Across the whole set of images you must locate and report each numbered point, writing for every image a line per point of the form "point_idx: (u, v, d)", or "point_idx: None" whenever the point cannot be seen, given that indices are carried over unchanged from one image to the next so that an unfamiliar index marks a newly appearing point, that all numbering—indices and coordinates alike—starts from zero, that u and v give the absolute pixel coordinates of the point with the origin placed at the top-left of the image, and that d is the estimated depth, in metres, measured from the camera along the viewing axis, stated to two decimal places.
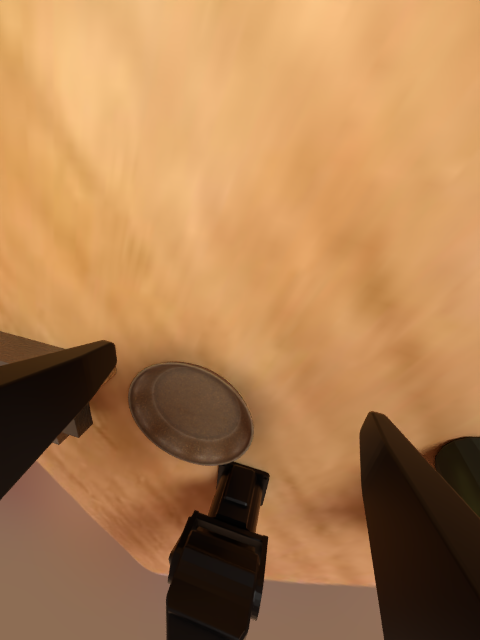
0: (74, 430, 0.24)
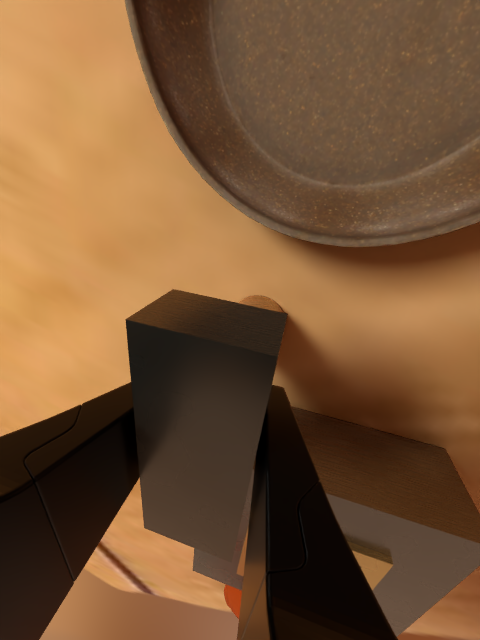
0: (220, 355, 0.04)
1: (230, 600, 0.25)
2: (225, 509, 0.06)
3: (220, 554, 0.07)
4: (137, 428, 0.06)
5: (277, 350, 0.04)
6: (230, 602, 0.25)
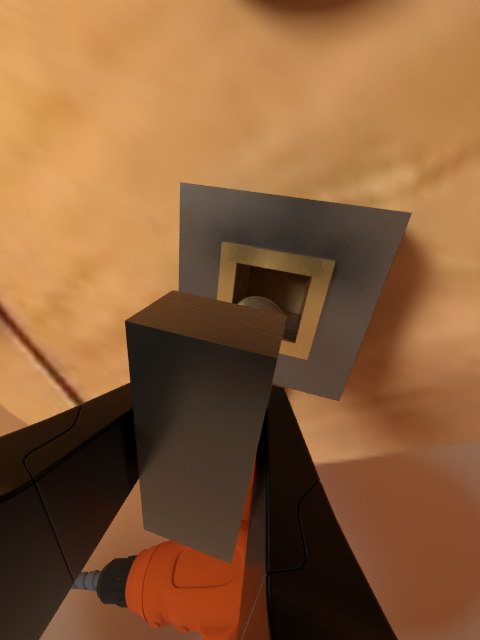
0: (220, 357, 0.04)
1: None
2: (225, 510, 0.06)
3: (220, 556, 0.07)
4: (136, 430, 0.06)
5: (277, 352, 0.04)
6: None
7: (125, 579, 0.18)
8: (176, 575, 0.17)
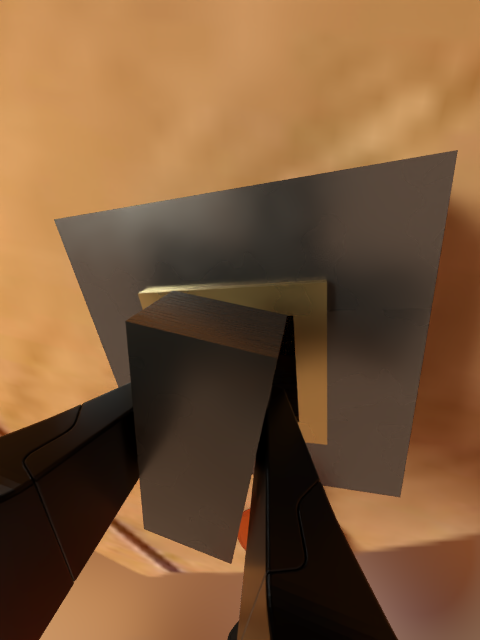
0: (220, 356, 0.04)
1: (243, 539, 0.20)
2: (225, 510, 0.06)
3: (220, 556, 0.07)
4: (137, 430, 0.06)
5: (277, 352, 0.04)
6: (243, 541, 0.20)
7: None
8: None
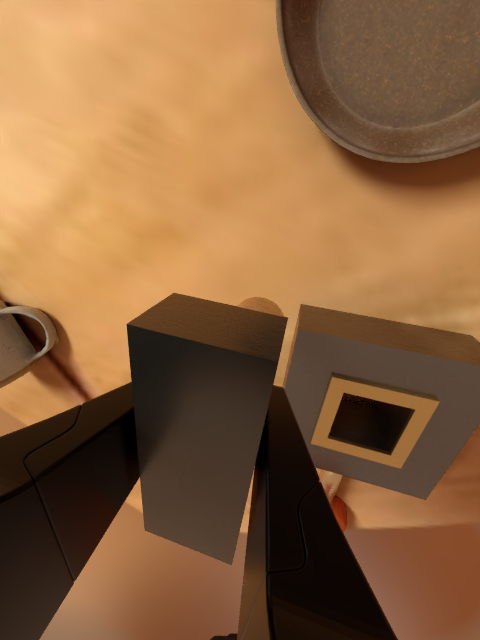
0: (221, 360, 0.04)
1: None
2: (226, 512, 0.06)
3: (220, 557, 0.07)
4: (137, 432, 0.06)
5: (277, 355, 0.04)
6: None
7: None
8: None
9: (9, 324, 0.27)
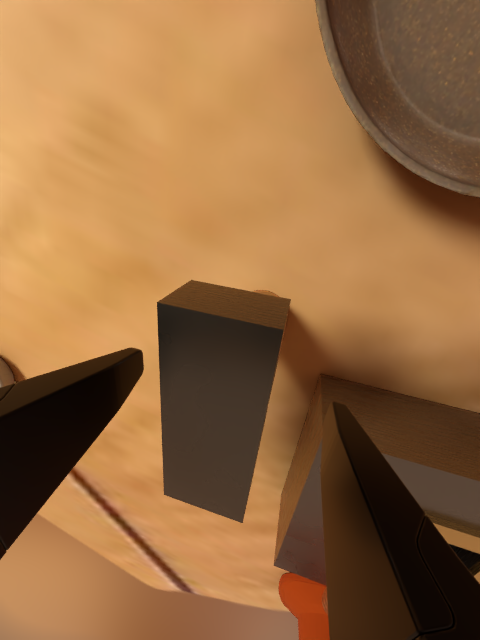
0: (236, 330, 0.05)
1: (287, 598, 0.24)
2: (238, 470, 0.07)
3: (232, 515, 0.08)
4: (162, 399, 0.07)
5: (283, 325, 0.05)
6: (287, 600, 0.24)
7: None
8: None
9: None
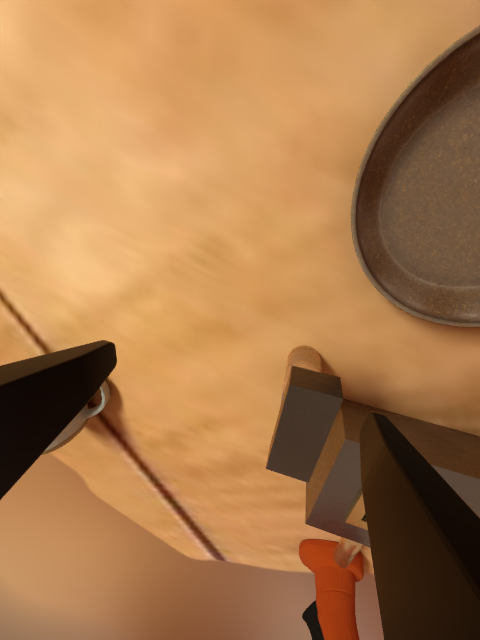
0: (323, 397, 0.14)
1: (306, 557, 0.32)
2: (312, 455, 0.15)
3: (303, 479, 0.16)
4: (279, 422, 0.15)
5: (342, 396, 0.13)
6: (306, 558, 0.32)
7: None
8: None
9: None
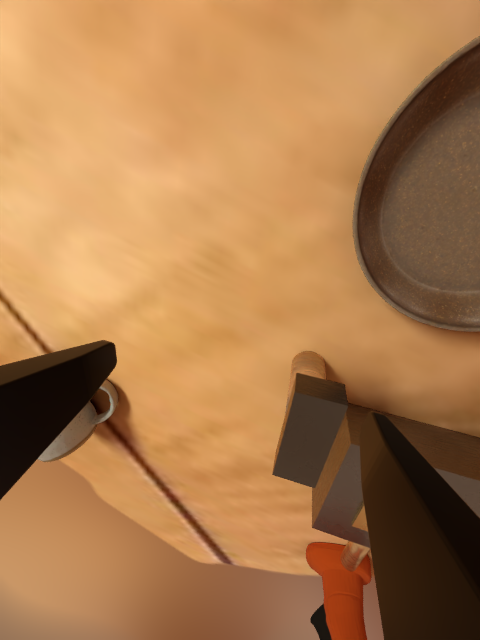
0: (328, 404, 0.14)
1: (313, 560, 0.32)
2: (317, 461, 0.16)
3: (310, 484, 0.17)
4: (285, 428, 0.15)
5: (347, 403, 0.14)
6: (313, 562, 0.32)
7: None
8: None
9: None
